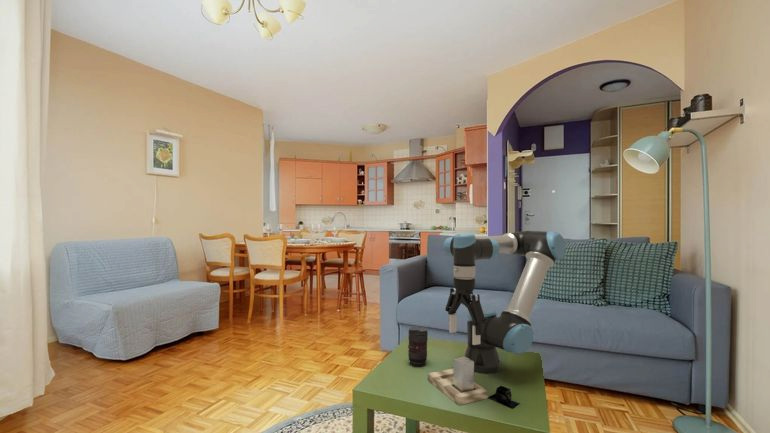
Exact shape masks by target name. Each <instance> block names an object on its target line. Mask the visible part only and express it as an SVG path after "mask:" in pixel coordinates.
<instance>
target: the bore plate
mask: <svg viewBox="0 0 770 433" xmlns="http://www.w3.org/2000/svg"><path fill="white" fill-rule="evenodd" d="M427 381H429V383H431V384H432V385H433V386H434V387H436V388H437V389H438V390H439V391H440V392H442V393H443V394H444V395H445V396H447V397H448V398H449V399H450V400H452V401H453V402H454V403H455V404H456V405H458V406H461V405H466V404H469V403H474V402H478V401H483V400H486V399H488V397H489V396H488V394H489V392H488V390H487V389H485V388H484V387H483V386H481V385H479V384H478V383H477V382H475V381H474V390H473V391H468V392H464V393H461V392H459V391H458V390H457V389H455V388H454V387H453V368H450V369H444V370H437V371H434V372H428V373H427Z"/></svg>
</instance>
